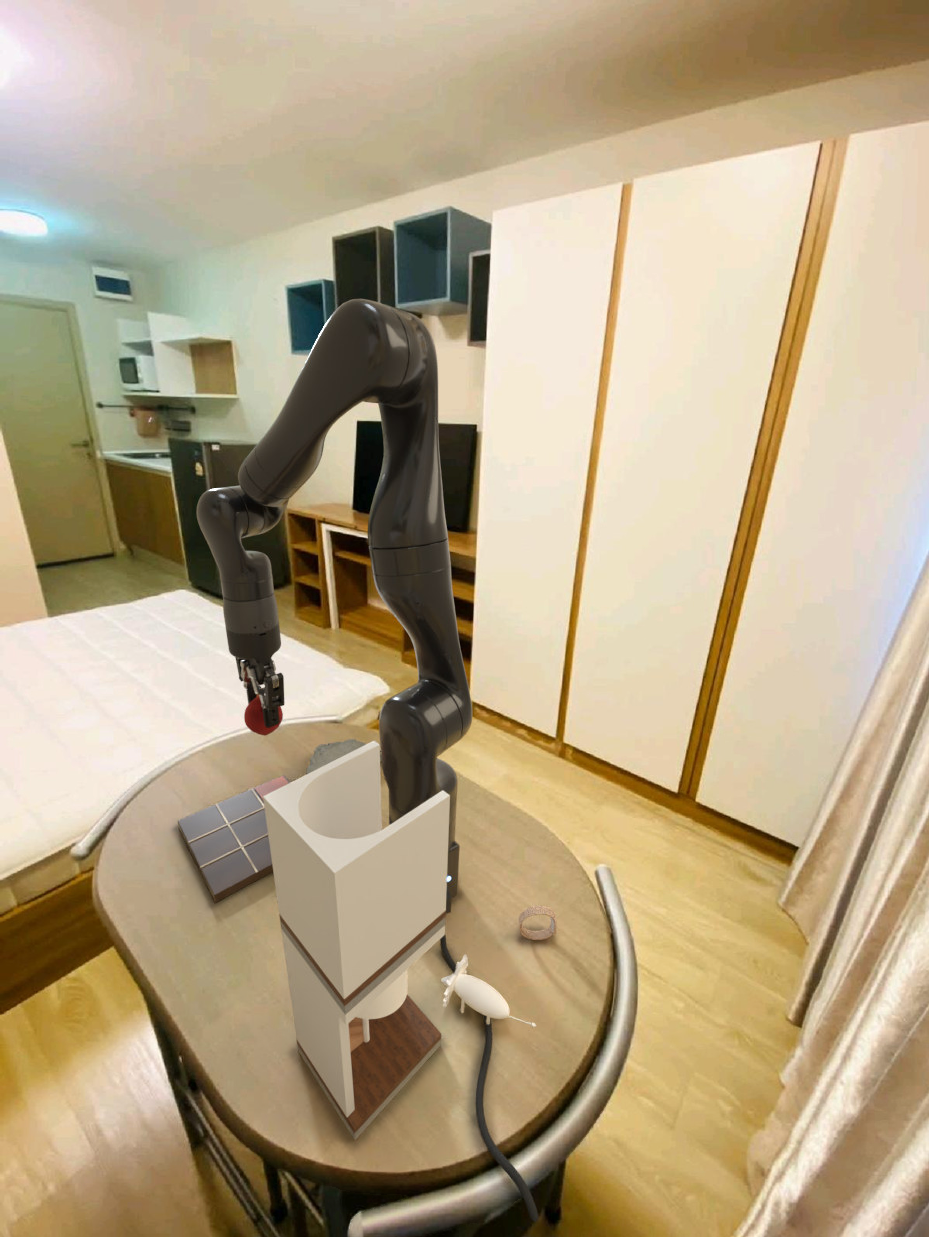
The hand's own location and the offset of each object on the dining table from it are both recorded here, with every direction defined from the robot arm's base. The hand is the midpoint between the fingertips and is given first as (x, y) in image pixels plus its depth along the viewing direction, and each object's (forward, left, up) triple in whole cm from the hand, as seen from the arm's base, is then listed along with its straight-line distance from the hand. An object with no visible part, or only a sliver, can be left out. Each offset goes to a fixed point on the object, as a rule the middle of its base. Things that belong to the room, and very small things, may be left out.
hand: (264, 715), depth 85 cm
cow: (-49, -5, -18) cm, 53 cm away
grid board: (-5, +5, -18) cm, 19 cm away
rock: (-1, -14, -18) cm, 22 cm away
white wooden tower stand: (-43, +7, -18) cm, 47 cm away
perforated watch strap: (-46, -17, -18) cm, 52 cm away
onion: (0, 0, -4) cm, 4 cm away
